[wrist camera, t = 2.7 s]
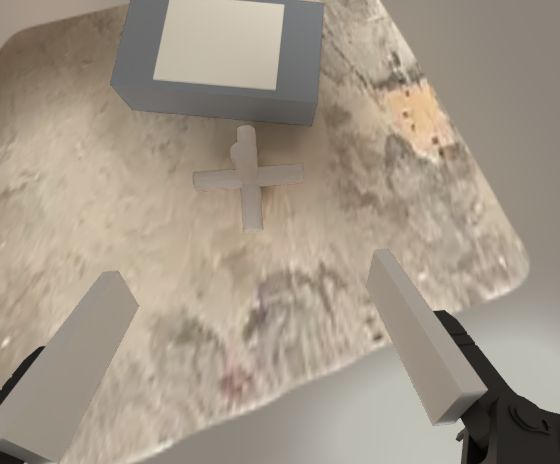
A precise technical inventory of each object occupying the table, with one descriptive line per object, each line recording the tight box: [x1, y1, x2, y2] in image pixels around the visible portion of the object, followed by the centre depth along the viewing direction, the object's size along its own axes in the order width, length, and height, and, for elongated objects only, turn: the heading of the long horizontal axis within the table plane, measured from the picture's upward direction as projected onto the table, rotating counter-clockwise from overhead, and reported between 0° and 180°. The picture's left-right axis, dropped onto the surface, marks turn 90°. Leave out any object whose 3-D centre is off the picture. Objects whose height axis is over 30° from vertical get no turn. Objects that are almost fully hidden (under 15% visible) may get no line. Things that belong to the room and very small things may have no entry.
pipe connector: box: [193, 125, 303, 232], centre depth 23 cm, size 10×10×10 cm
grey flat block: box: [110, 0, 324, 126], centre depth 28 cm, size 22×13×4 cm, turn 85°
